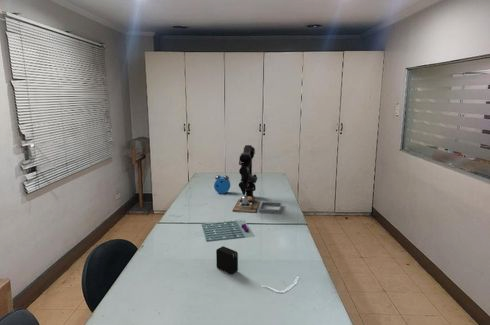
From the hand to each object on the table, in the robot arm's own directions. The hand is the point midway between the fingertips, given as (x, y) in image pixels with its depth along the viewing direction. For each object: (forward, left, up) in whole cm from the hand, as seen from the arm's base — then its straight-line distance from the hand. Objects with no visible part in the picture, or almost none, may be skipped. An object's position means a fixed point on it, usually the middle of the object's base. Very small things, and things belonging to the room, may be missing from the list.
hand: (245, 193), depth 234 cm
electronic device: (+83, +5, -12) cm, 84 cm away
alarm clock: (-34, -25, -12) cm, 44 cm away
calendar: (+37, -5, -13) cm, 40 cm away
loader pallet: (-5, 0, -12) cm, 13 cm away
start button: (-12, 0, -10) cm, 15 cm away
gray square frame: (-2, +18, -12) cm, 22 cm away
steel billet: (0, 0, -11) cm, 11 cm away
